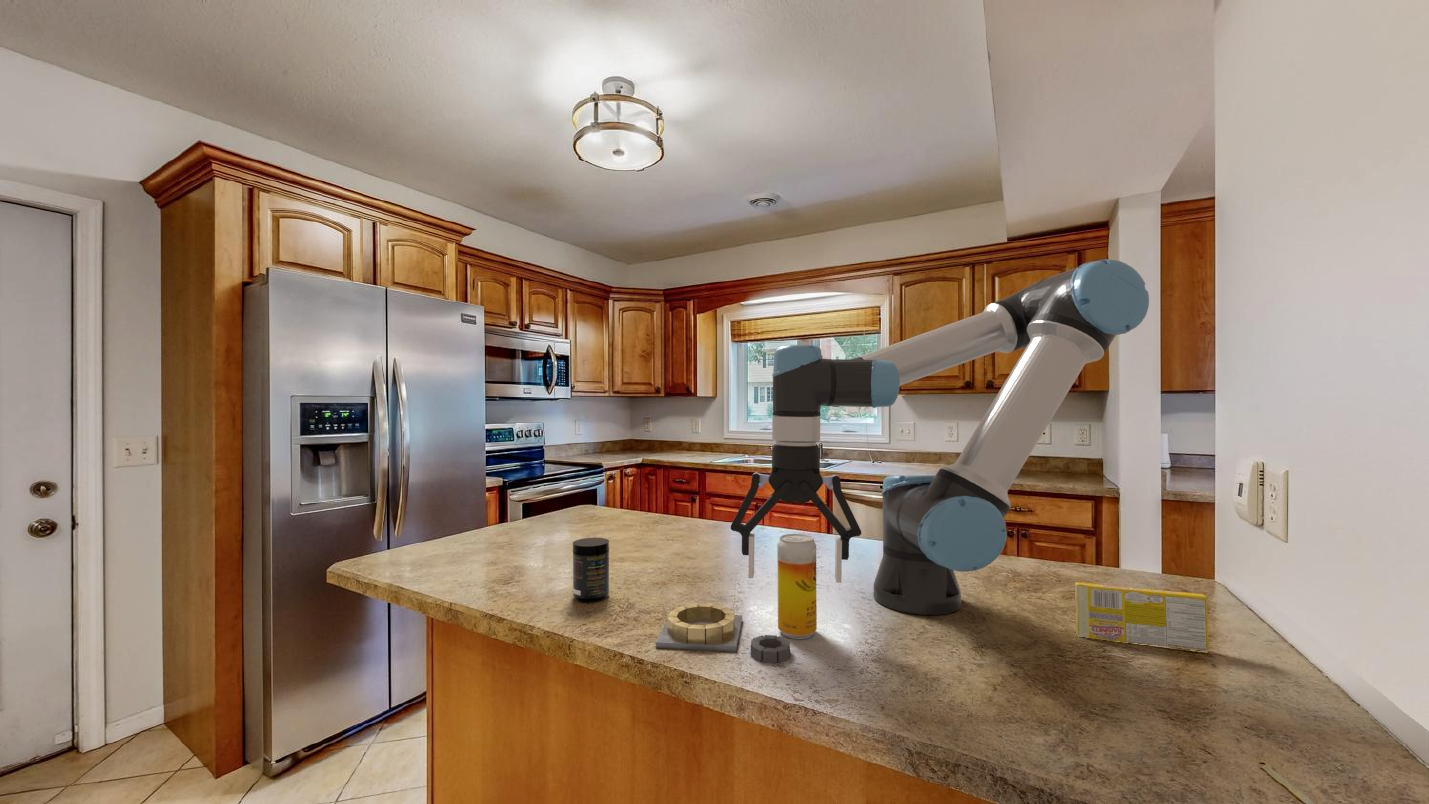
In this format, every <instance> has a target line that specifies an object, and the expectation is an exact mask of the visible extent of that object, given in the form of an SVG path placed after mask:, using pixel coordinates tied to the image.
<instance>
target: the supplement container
mask: <svg viewBox="0 0 1429 804" xmlns="http://www.w3.org/2000/svg"><path fill="white" fill-rule="evenodd" d="M609 594H610V540H609V539H608V538H606V537H605V538H604V537H585V538H579V539H576V540H574V541H572V597H573V599H574V600H575V601H577V602H580V603H588V604H589V603H590V604H591V603H597V602H601V601H604V600H605V599H607V598H608V597H609Z"/></svg>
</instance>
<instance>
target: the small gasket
mask: <svg viewBox="0 0 1429 804" xmlns="http://www.w3.org/2000/svg"><path fill="white" fill-rule="evenodd" d="M750 656H751V657H752V658H754V659H756V660H757V661H759V662H763V663H774V664H775V663H776V664H778V663H781V662H784V661H787V660H789V659H790V658H791V641H790V640H789V639H787V638H784V637H783V636H780V635H779V636H778V635H777V634H776V635H773V634H771V635H770V634H764V635H762V634H761V635H758V636H756V637H753V638H752V639H751V641H750ZM777 662H778V663H777Z"/></svg>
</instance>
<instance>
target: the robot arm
mask: <svg viewBox="0 0 1429 804" xmlns="http://www.w3.org/2000/svg"><path fill="white" fill-rule="evenodd" d="M1145 286H1146V282H1145V281H1144V278H1143V277H1142V276H1141V275H1140V273H1139V272H1138V271H1137V270H1136V269H1135V268H1134V267H1133V266H1131V265H1129V264H1127V263H1126V262H1123V261H1120V260H1117V259H1109V258H1108V259H1107V258H1105V259H1098V260H1097V261H1096V260H1095V261H1088V262H1085V263H1082V264H1080V265H1079V266H1077V267H1075V268H1072V269H1069V270H1067V271H1064V272H1061V273H1058V274H1055V275H1052V276H1049V277H1046V278H1043V279H1040V280H1038V281H1037V282H1035V283H1032V284H1030V285H1029V286H1026V287H1025V288H1022V289H1021V290H1019V291H1017V292H1015V293H1013V294H1011V295H1009V296H1007V297H1004V298H1002V299H1000V300H997V301H995V302H991V303H988V304H987V305H986V306H985V308H984V310H983V311H982V312H980V313H978V314H977V313H976V314H974V315H972V316H969V317H966V318H963V319H960V320H957V321H955V322H951V323H949V324H946V325H943V326H941V327H938V328H935V329H932V330H929V331H927V332H924V333H921V334H917V335H916V336H912V337H910V338H907V339H905V340H902V341H899V342H896V343H892V344H891V345H888V346H885V347H881V348H879V349H876V350H873V351H871V352H868V353H866V354H862V355H859V356H858V357H855V358H851V359H831V358H825V357H824V358H823V355H822V349H821V348H820V346H817V345H810V344H809V345H808V344H790V345H789V344H788V345H787V344H786V345H782V346H779V347H777V349H776V350H775V352H774V355H773V356H774V357H773V369H772V370H773V371H772V374H771V375H772V419H771V421H772V423H771V424H772V426H771V427H772V429H771V430H772V431H771V432H772V433H771V438H772V441H774V442H775V444H773V445H772V446H771V472H770V474H764V473H759V472H758V471H754V473H753V474H752V475H751V484H750V487H749V490H748V491H747V493H746V495H745V497H744V499H743V501H742V503H741V505H740V507H739V508H738V511H737V513H736V515H735V517H734V518H733V520H732V522H731V524H730V530H731V531H732V532H736V533H739V534H740V535H741V554H742V556H748V571H747V572H748V575H747V576H748V579H754V575H755V536H756V535H755V533H756V532H752V531H753V530H754V529H755V528H756V527H757V526H758V525H759V524H760V522H761V521H762V520H763V519H764V518H765V517H766V515H767V514H768V513H769V512H770V511H771V510H772V508H773V507H775V506H776V504H778V502H779V501H782V502H784V503H786V504H792V503H796V504H797V503H798V504H806V503H808V502H810V501H811V503H812V504H813V505H814V506H815V507H816V508H817V509H818V511H819V512H820V513H821V514H822V515H823V517H824V518H825V519H826V520H827V522H829V524H830V526H832V527H833V528H834V530H835V531H836V533H837V534H839V536H837V535H836V536H835V537H834V539H835V540H834V543H835V544H834V547H835V548H834V550H835V551H834V557H835V558H834V579H835V583H838V584H839V583H842V573H843V571H842V569H843V568H842V567H843V566H842V563H843V561H848V559H849V557H850V540H851V539H852V538H855V537H860V536H861V535H862V530H861V528H860V525H859V524H858V521H857V520H856V517H855V515H854V513H853V511H852V510H851V508H850V506H849V503H848V501H847V499H846V497H845V494H844V493H843V491H842V485H841V478H840V476H839V475H838V474H837V473H836V474H835V473H834V474H832V475H827V476H823V475H821V468H820V467H821V447H820V446H819V445H818V443H819V442H820V441H821V408H822V407H833V408H839V407H849V408H853V407H854V408H874V409H875V408H885V407H887V408H888V407H891V406H892V405H894V404H895V403H896V401H897V399H898V396H899V392H900V386H903V385H905V384H908V383H911V382H915V381H917V380H919V379H923V378H925V377H927V376H931V375H934V374H936V373H939V372H942V371H944V370H948V369H950V368H954V367H957V366H959V365H962V364H965V363H967V362H970V361H971V362H972V361H973V360H977V359H979V358H982V357H984V356H987V355H990V354H993V353H996V352H1000V353H1002V354H1009V353H1013V352H1015V351H1018V350H1021V349H1024V350H1023V351H1022V353H1021V355H1020V357H1019V358H1018V360H1017V361H1016V363H1015V365H1014V366H1013V368H1012V369H1011V372H1010V373H1009V375H1008V376H1007V378H1006V379H1005V381H1004V383H1003V384H1002V386H1001V388H1000V389H999V391H998V393H997V394H996V396H995V397H994V399H993V400H992V402H991V404H990V406H989V407H988V409H987V411H986V413H985V414H984V415H983V417H982V419H981V420H980V422H979V423H978V425H977V427H976V429H975V430H974V432H973V434H972V435H971V437H970V438H969V439H968V442H967V443H966V444H965V447H964V448H963V449H962V451H961V452H960V455H959V456H958V457H957V459H956V461H955V462H954V463H952V464H949V465H945V466H941V467H940V468H939V470H937V473H936V475H935V474H931V475H930V474H928V475H927V474H926V475H925V474H924V475H922V474H921V475H918V474H917V475H914V474H912V475H888V476H886V477H885V478H884V479H883V483H882V485H883V486H882V491H881V496H882V545H883V546H882V551H883V553H882V558H881V561H880V564H879V567H878V570H877V573H876V575H875V579H874V581H873V598H874V600H875V601H876V602H877V603H879V604H880V605H882V606H884V607H887V608H889V609H891V610H895V611H899V612H902V613H909V614H914V615H925V616H935V615H937V616H938V615H939V616H940V615H947V614H951V613H954V612H957V611H958V610H960V609H961V608H962V591H961V589H960V585H959V583H958V579H957V576H956V574H955V572H961V573H962V572H963V573H964V572H966V573H968V572H973V571H978V570H981V569H984V568H986V567H988V566H989V565H991V564H992V563H993V562H994V561H996V559H998V558H999V556H1000V555H1001V554H1002V551H1003V549H1004V548H1005V546H1006V544H1007V543H1006V542H1007V538H1008V537H1007V536H1008V532H1007V530H1006V526H1007V523H1006V522H1005V517H1006V516H1007V514H1008V513H1009V511H1010V509H1011V507H1012V505H1011V502H1010V497H1009V495H1008V493H1009V490H1010V488H1011V486H1012V484H1013V483H1014V481H1015V480H1016V478H1017V476H1018V475H1019V473H1020V471H1021V470H1022V468H1023V467H1024V465H1025V463H1026V461H1027V460H1028V458H1029V457H1030V455H1031V454H1032V452H1033V451H1034V449H1035V447H1036V446H1037V443H1039V441H1040V439H1041V437H1042V435H1043V434H1044V432H1045V431H1046V429H1047V427H1048V426H1049V424H1050V422H1051V421H1052V419H1053V417H1054V416H1055V414H1056V413H1057V411H1058V410H1059V408H1060V406H1061V405H1062V403H1063V402H1064V400H1065V398H1066V396H1067V395H1068V393H1069V391H1070V390H1071V388H1072V386H1073V385H1074V383H1075V381H1076V380H1077V379H1078V376H1079V375H1080V373H1081V372H1082V370H1083V368H1084V367H1085V365H1087V364H1090V363H1092V362H1093V363H1094V362H1098V361H1100V360H1102V358H1103V357H1104V355H1105V354H1106V352H1107V351H1108V349H1109V347H1110V346H1111V344H1112V342H1113V341H1114V339H1115V338H1116V336H1120V335H1123V334H1127V333H1129V332H1130V331H1132V330H1135V328H1138V326H1139V325H1140V324H1142V323H1143V321H1144V319H1145V318H1146V316H1147V314H1148V311H1149V305H1150V295H1149V291H1148V290H1147V289H1146V287H1145ZM766 483H769V485H770V487H771V488H772V489H773V492H772V494H771V495H769V497H768V498H767V499H766V500H765V502H763V504H762V505H761V506H760V507H759V508H758V509H757V510H756V512H755V513H754V514H753V515H752V516H751V517H750V518H749V520H748V521H747V522H746V523H745V524H744V523H742V522H743V520H744V518H745V516H746V514H747V512H748V510H749V508H750V507H751V504H752V502H753V501H754V498H755V497H756V494H757V493H758V490H759V488H764V486H765V484H766ZM823 485H826V487H827V489H828V490H830V491H832V492H833V494H834V496H835V499H836V500H837V502H838V505H839V507H840V509H841V511H842V512H843V515H844V516H845V519H846V521H847V523H848V524H849V525H848V526H849V527H847V528H846V527H845V526H844V525H843V523H841V521H840V520H839V519H838V517H837V516H836V515H835V514H834V513H833V511H832V510H831V509H830V508H829V507H828V506H827V504H826V503H825V501H823V499H822V498H821V497H820V495H819V494H818V491H819V490H820V489H821V488H822V486H823Z"/></svg>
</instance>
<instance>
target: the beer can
mask: <svg viewBox="0 0 1429 804" xmlns="http://www.w3.org/2000/svg"><path fill="white" fill-rule="evenodd" d="M776 546H777V550H776V552H777V554H776V555H777V557H776V558H777V561H776V562H777V569H776V570H777V628H778V629H779V631H780V633H781V635H783V636H784V637H786V638H789V639H794V640H804V639H809V638H812V636H814V633H815V632H816V631H817V629H818V628H817V626H818V625H817V623H818V621H817V614H818V613H817V610H818V609H817V545H816V541H815V540H814V537H813V536H812V535H808V534H802V533H790V534H789V533H788V534H786V533H785V534H783V535H782V534H781V535H780V537H779V540H778V542H777V545H776Z"/></svg>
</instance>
